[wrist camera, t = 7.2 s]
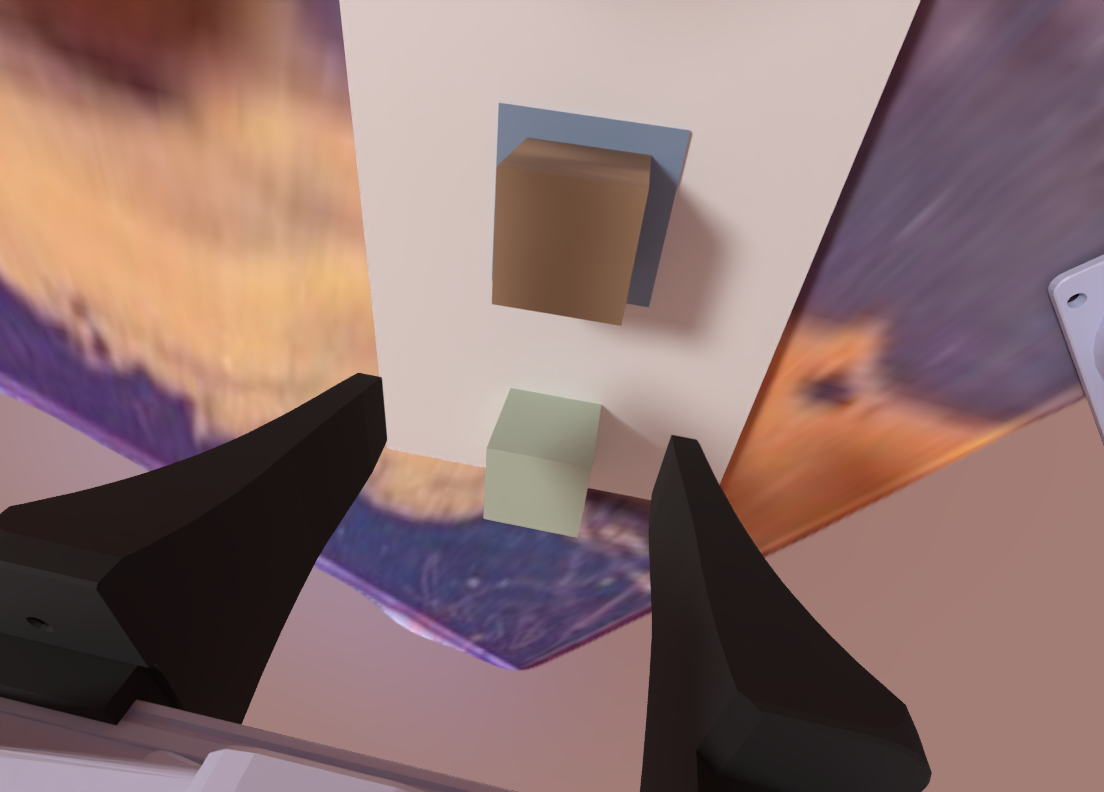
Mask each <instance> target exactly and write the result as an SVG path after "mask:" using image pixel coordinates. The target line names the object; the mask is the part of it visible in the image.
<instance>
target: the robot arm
mask: <svg viewBox="0 0 1104 792" xmlns="http://www.w3.org/2000/svg"><path fill="white" fill-rule="evenodd" d="M1048 293H1049V295H1050V298H1051V301H1052V304H1053V306H1054V309H1055V312H1056V315H1057V318H1058V320H1059V323H1060V326H1061V329H1062V331H1063V334H1064V337H1065V340H1066V342H1067V345H1068V348H1069V351H1070V353H1071V356H1072V359H1073V362H1074V364H1075V367H1076V370H1077V373H1078V375H1079V378H1080V381H1081V384H1082V387H1083V389H1084V392H1085V395H1086V398H1087V400H1088V403H1089V405H1090V408H1091V411H1092V414H1093V417H1094V420H1095V422H1096V425H1097V428H1098V431H1099V433H1100V436H1101V439H1102V442H1103V444H1104V255H1101V256H1099V257H1097V258H1095V259H1093V260H1090V261H1088V262H1086V263H1084V264H1081V265H1079V266H1077V267H1075V268H1072V269H1070V270H1068V271H1066V272H1064V273H1062V274H1060V275H1058V276H1057V277H1055V278H1054V279H1053V280H1052V281H1051V283H1050V285H1049V287H1048ZM1075 294H1079V296H1078V297H1077V299H1075V300H1074V301H1072V302H1068V303H1067V301H1068V300H1069V298H1070V297H1072V296H1073V295H1075ZM386 442H387V430H386V418H385V406H384V395H383V383H382V377H377V376H372V375H367V374H362V373H357V374H355V375H353V376H351V377H350V378H348V379H346V380H344V381H342V382H341V383H339V384H337V385H336V386H334V387H332V388H330V389H329V390H327V391H325V392H323V393H322V394H320V395H318V396H317V397H315V398H313V399H311V400H309V401H308V402H306V403H304V404H302V405H301V406H299V407H297V408H295V409H294V410H292V411H290V412H288V413H286V414H284V415H282V416H281V417H279V418H277V419H275V420H273V421H271V422H269V423H267V424H265V425H263V426H261V427H259V428H257V429H255V430H253V431H251V432H249V433H247V434H245V435H243V436H241V437H239V438H236V439H234V440H232V441H230V442H227V443H225V444H223V445H220V446H218V447H215V448H213V449H211V450H208V451H206V452H203V453H201V454H198V455H196V456H193V457H190V458H187V459H184V460H182V461H179V462H176V463H173V464H170V465H167V466H164V467H161V468H159V469H156V470H153V471H150V472H147V473H144V474H140V475H137V476H134V477H130V478H127V479H124V480H120V481H117V482H113V483H109V484H106V485H102V486H98V487H95V488H91V489H87V490H83V491H79V492H75V493H70V494H66V495H61V496H56V497H52V498H47V499H43V500H38V501H34V502H29V503H25V504H20V505H15V506H10V507H8V508H7V509H6V510H5V511H3V512H2V513H1V514H0V792H517V791H513V790H508V789H504V788H500V787H496V786H492V785H488V784H484V783H480V782H476V781H471V780H467V779H463V778H459V777H455V776H451V775H447V774H443V773H438V772H434V771H430V770H426V769H422V768H418V767H414V766H409V765H405V764H401V763H397V762H393V761H389V760H384V759H380V758H376V757H372V756H368V755H364V754H360V753H356V752H352V751H348V750H343V749H339V748H335V747H331V746H327V745H323V744H319V743H314V742H310V741H306V740H302V739H298V738H294V737H290V736H286V735H282V734H277V733H273V732H269V731H265V730H261V729H257V728H253V727H248V726H244V725H241V724H242V722H243V719H244V717H245V714H246V712H247V710H248V707H249V705H250V702H251V700H252V697H253V695H254V692H255V690H256V688H257V685H258V683H259V680H260V678H261V676H262V673H263V671H264V669H265V667H266V664H267V662H268V660H269V658H270V655H271V653H272V651H273V649H274V646H275V644H276V642H277V640H278V637H279V635H280V633H281V631H282V629H283V627H284V625H285V623H286V620H287V618H288V616H289V614H290V612H291V610H292V608H293V606H294V604H295V602H296V600H297V597H298V595H299V593H300V591H301V589H302V588H303V586H304V584H305V582H306V580H307V577H308V576H309V574H310V572H311V570H312V568H313V566H314V564H315V562H316V560H317V558H318V557H319V555H320V553H321V552H322V550H323V548H324V547H325V545H326V543H327V542H328V540H329V539H330V537H331V536H332V534H333V533H334V531H335V530H336V528H337V526H338V525H339V523H340V522H341V520H342V519H343V517H344V516H345V514H346V513H347V511H348V510H349V508H350V507H351V505H352V503H353V502H354V500H355V499H356V497H357V496H358V494H359V493H360V491H361V490H362V488H363V486H364V485H365V483H366V482H367V480H368V478H369V477H370V475H371V474H372V472H373V470H374V468H375V465H376V463H377V461H378V459H379V457H380V455H381V453H382V450H383V448H384V446H385V444H386ZM649 558H650V581H651V605H652V642H651V661H650V676H649V691H648V705H647V718H646V731H645V742H644V755H643V767H642V776H641V787H640V792H922V791H923V790H924V789H925V788H926V786H927V785H928V784H929V781H930V777H931V769H930V767H929V764H928V761H927V758H926V755H925V753H924V750H923V746H922V743H921V741H920V738H919V735H918V732H917V730H916V727H915V725H914V723H913V721H912V719H911V716H910V714H909V712H908V709H907V707H906V705H905V704H904V703H903V702H902V701H901V700H900V699H898V698H897V697H896V696H895V695H894V694H893V693H891V691H889V690H888V689H887V688H886V687H885V686H884V685H883V684H881V683H880V682H879V681H878V680H877V679H876V678H875V677H874V676H872V675H871V674H870V673H869V672H868V671H867V670H865V668H863V667H862V666H861V665H860V664H859V663H858V662H857V661H856V660H855V659H854V658H853V657H852V656H850V654H849V653H847V651H845V650H844V648H842V647H841V646H840V645H839V644H838V643H837V642H836V641H835V640H834V639H833V638H832V637H831V636H830V635H829V634H828V633H827V632H826V630H825V629H823V627H822V626H821V625H820V624H819V623H818V622H817V621H816V620H815V619H814V618H813V617H812V616H811V615H810V613H809V612H808V611H807V610H806V609H805V608H804V606H803V605H802V604H801V603H800V602H799V601H798V600H797V599H796V597H795V596H794V595H793V594H792V593H791V592H790V590H789V589H788V588H787V587H786V586H785V584H783V582H782V581H781V580H780V578H779V577H778V576H777V575H776V573H775V572H774V570H773V569H772V568H771V567H770V565H769V564H768V562H767V561H766V560H765V558H764V557H763V556H762V554H761V553H760V551H759V550H758V548H757V547H756V545H755V544H754V542H753V541H752V539H751V538H750V536H749V535H748V533H747V532H746V530H745V528H744V527H743V525H742V524H741V522H740V520H739V519H738V517H737V515H736V514H735V512H734V510H733V508H732V507H731V505H730V503H729V501H728V499H727V498H726V496H725V494H724V492H723V490H722V488H721V487H720V485H719V483H718V481H717V479H716V477H715V475H714V473H713V471H712V469H711V467H710V465H709V463H708V461H707V458H706V456H705V454H704V452H703V450H702V448H701V445H700V444H699V442H698V441H697V440H696V439H691V438H686V437H681V436H676V435H671V437H670V440H669V443H668V446H667V449H666V452H665V455H664V458H663V461H662V464H661V467H660V470H659V473H658V476H657V479H656V482H655V485H654V488H653V491H652V495H651V507H650V519H649Z"/></svg>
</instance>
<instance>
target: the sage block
mask: <svg viewBox="0 0 1104 792" xmlns="http://www.w3.org/2000/svg"><path fill="white" fill-rule="evenodd" d="M601 405H602V404H596V403H591V402H585V401H580V400H574V399H569V398H563V397H558V396H552V395H547V394H542V393H536V392H531V391H525V390H520V389H514V388H510V391H509V393H508V396H507V398H506V401H505V403H504V406H503V408H502V411H501V413H500V416H499V418H498V421H497V423H496V426H495V428H494V431H493V433H492V436H491V438H490V441H489V443H488V446H487V449H486V473H485V497H484V519H488V520H493V521H498V522H503V523H508V524H513V525H518V526H523V527H528V528H532V529H537V530H542V531H547V532H552V533H557V534H562V535H567V536H572V537H577V538H578V533H579V528H580V523H581V519H582V514H583V509H584V504H585V499H586V494H587V490H588V485H589V480H590V475H591V470H592V464H593V458H594V451H595V444H596V438H597V431H598V425H599V418H600V411H601Z"/></svg>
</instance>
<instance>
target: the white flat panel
mask: <svg viewBox="0 0 1104 792" xmlns="http://www.w3.org/2000/svg"><path fill="white" fill-rule="evenodd" d="M339 1H340V10H341V20H342V29H343V38H344V48H345V57H346V67H347V76H348V85H349V95H350V104H351V113H352V123H353V132H354V141H355V151H356V160H357V169H358V179H359V188H360V197H361V207H362V216H363V226H364V235H365V244H366V254H367V263H368V272H369V282H370V291H371V300H372V310H373V319H374V328H375V338H376V347H377V357H378V366H379V375H380V377H382V383H383V395H384V406H385V418H386V430H387V449H391V450H396V451H401V452H407V453H412V454H417V455H422V456H427V457H432V458H437V459H442V460H448V461H453V462H458V463H463V464H468V465H473V466H478V467H483V468H486V449H487V446H488V443H489V441H490V438H491V436H492V433H493V431H494V428H495V426H496V423H497V421H498V418H499V416H500V413H501V411H502V408H503V406H504V403H505V401H506V398H507V396H508V393H509V391H510V388H514V389H520V390H525V391H531V392H536V393H542V394H547V395H552V396H558V397H563V398H569V399H574V400H580V401H585V402H591V403H596V404H602V405H601V411H600V418H599V425H598V431H597V438H596V444H595V451H594V458H593V464H592V470H591V475H590V480H589V485H588V488H591V489H596V490H601V491H607V492H612V493H617V494H622V495H627V496H632V497H637V498H643V499H648V500H651V495H652V491H653V488H654V485H655V482H656V479H657V476H658V473H659V470H660V467H661V464H662V461H663V458H664V455H665V452H666V449H667V446H668V443H669V440H670V437H671V435H676V436H681V437H686V438H691V439H696V440H697V441H698V442H699V444H700V445H701V448H702V450H703V452H704V454H705V456H706V458H707V461H708V463H709V465H710V467H711V469H712V471H713V473H714V475H715V477H716V479H717V481H718V483H719V485H720V483H721V480H722V478H723V475H724V473H725V471H726V468H727V466H728V463H729V461H730V458H731V456H732V454H733V451H734V449H735V446H736V444H737V442H738V439H739V437H740V434H741V432H742V430H743V427H744V425H745V422H746V420H747V418H748V415H749V413H750V410H751V408H752V405H753V403H754V401H755V398H756V396H757V393H758V391H759V389H760V386H761V384H762V381H763V379H764V377H765V374H766V372H767V369H768V367H769V364H770V362H771V360H772V357H773V355H774V352H775V350H776V348H777V345H778V343H779V340H780V338H781V336H782V333H783V331H784V328H785V326H786V324H787V321H788V319H789V316H790V314H791V311H792V309H793V307H794V304H795V302H796V299H797V297H798V295H799V292H800V290H801V287H802V285H803V283H804V280H805V278H806V275H807V273H808V270H809V268H810V266H811V263H812V261H813V258H814V256H815V254H816V251H817V249H818V246H819V244H820V242H821V239H822V237H823V234H824V232H825V229H826V227H827V225H828V222H829V220H830V217H831V215H832V213H833V210H834V208H835V205H836V203H837V201H838V198H839V196H840V193H841V191H842V189H843V186H844V184H845V181H846V179H847V176H848V174H849V172H850V169H851V167H852V164H853V162H854V160H855V157H856V155H857V152H858V150H859V148H860V145H861V143H862V140H863V138H864V135H865V133H866V131H867V128H868V126H869V123H870V121H871V119H872V116H873V114H874V111H875V109H876V107H877V104H878V102H879V99H880V97H881V94H882V92H883V90H884V87H885V85H886V82H887V80H888V78H889V75H890V73H891V70H892V68H893V66H894V63H895V61H896V58H897V56H898V54H899V51H900V49H901V46H902V44H903V41H904V39H905V37H906V34H907V32H908V29H909V27H910V25H911V22H912V20H913V17H914V15H915V13H916V10H917V8H918V5H919V3H920V0H339ZM527 137H528V138H535V139H542V140H549V141H556V142H563V143H570V144H577V145H584V146H591V147H598V148H605V149H612V150H619V151H625V152H632V153H639V154H646V155H651V166H650V181H649V191H648V196H647V201H646V206H645V211H644V216H643V221H642V226H641V231H640V236H639V241H638V246H637V251H636V256H635V261H634V266H633V271H632V276H631V281H630V286H629V291H628V296H627V301H626V306H625V311H624V316H623V321H622V325H621V326H619V325H613V324H607V323H601V322H595V321H589V320H583V319H577V318H571V317H565V316H560V315H554V314H548V313H542V312H536V311H530V310H524V309H518V308H512V307H506V306H500V305H494V304H492V281H493V253H494V225H495V197H496V169H497V165H498V164H499V163H500V162H502V161H503V160H504V159H505V158H506V157H507V156H508V155H509V154H510V153H511V152H512V151H513V150H514V149H515V148H516V147H518V146H519V145H520V144H521V143H522V142H523V141H524V140H525V139H526V138H527Z"/></svg>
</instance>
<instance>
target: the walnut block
mask: <svg viewBox="0 0 1104 792" xmlns="http://www.w3.org/2000/svg"><path fill="white" fill-rule="evenodd" d="M650 166H651V155H646V154H639V153H632V152H625V151H619V150H612V149H605V148H598V147H591V146H584V145H577V144H570V143H563V142H556V141H549V140H542V139H535V138H528V137H527V138H526V139H525V140H524V141H523V142H522V143H521V144H520V145H519V146H518V147H516V148H515V149H514V150H513V151H512V152H511V153H510V154H509V155H508V156H507V157H506V158H505V159H504V160H503V161H502V162H500V163H499V164H498V165H497V169H496V197H495V225H494V253H493V281H492V304H494V305H500V306H506V307H512V308H518V309H524V310H530V311H536V312H542V313H548V314H554V315H560V316H565V317H571V318H577V319H583V320H589V321H595V322H601V323H607V324H613V325H619V326H621V325H622V321H623V316H624V311H625V306H626V301H627V296H628V291H629V286H630V281H631V276H632V271H633V266H634V261H635V256H636V251H637V246H638V241H639V236H640V231H641V226H642V221H643V216H644V211H645V206H646V201H647V196H648V191H649V181H650Z"/></svg>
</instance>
